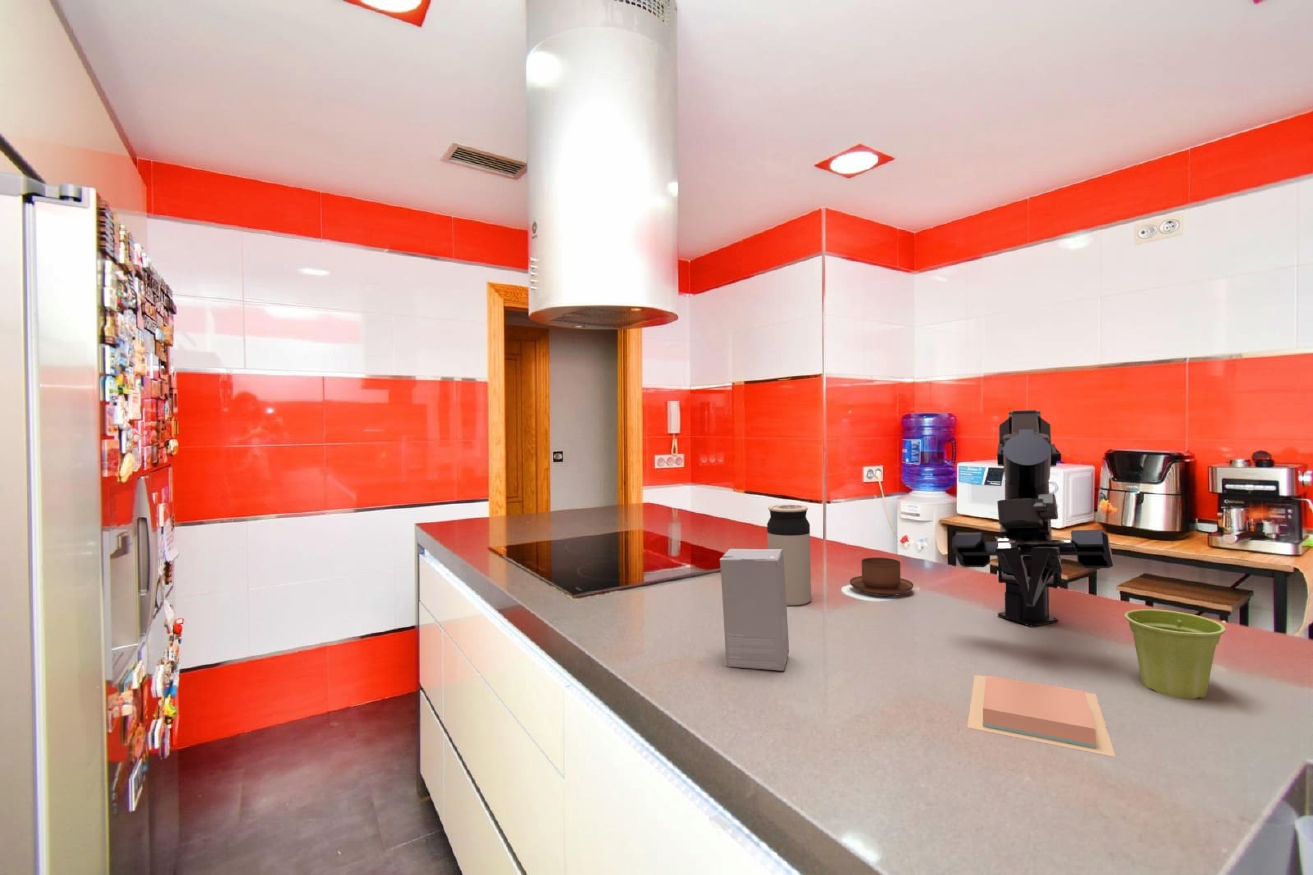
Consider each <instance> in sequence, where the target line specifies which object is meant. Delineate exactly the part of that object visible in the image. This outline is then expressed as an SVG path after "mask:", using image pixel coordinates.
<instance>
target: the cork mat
mask: <svg viewBox="0 0 1313 875" xmlns="http://www.w3.org/2000/svg"><path fill="white" fill-rule="evenodd" d="M985 681H986V675H979V674H974V677H973V685H972V690H971V698H970V705H969V713H968V719H967V720H968V721H967V727H966V728H967V729H972V730H977V731H982V732H987V733H991V734H997V735H1001V736H1006V737H1007V736H1008V737H1012V738H1016V739H1022V740H1027V741H1032V742H1036V743H1041V744H1042V743H1043V744H1047V745H1051V746H1055V747H1060V748H1065V749H1066V748H1067V749H1070V750H1071V749H1072V750H1077V751H1082V752H1085V753H1090V754H1091V753H1092V754H1097V755H1100V756H1101V755H1102V756H1107V757H1112V758H1116V754H1115V751H1114V748H1113V745H1112V744H1113V743H1112V742H1111V738H1110V735H1109V733H1108V729H1107V725H1106V722H1105V719H1104V715H1103V713H1102V710H1101V706H1100V704H1099V699H1098V698H1097V694H1096V693H1091V692H1090V693H1089V692H1085V693H1086V697H1087V700H1088V704H1089V708H1090V711H1091V715H1092V718H1093V722H1094V726H1095V735H1096V749H1095V748H1090V747H1085V746H1080V745H1075V744H1070V743H1065V742H1060V741H1054V740H1049V739H1044V738H1039V737H1034V736H1029V735H1024V734H1019V733H1014V732H1009V731H1004V730H999V729H994V728H989V727H984V726H983V702H984V691H985Z"/></svg>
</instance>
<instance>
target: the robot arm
mask: <svg viewBox="0 0 1313 875" xmlns="http://www.w3.org/2000/svg"><path fill="white" fill-rule="evenodd" d="M1051 427H1052V426H1051V424H1050V423H1049V422H1047V421H1046V420H1045V419H1043V418H1042V417H1041V411H1040V410H1036V409H1029V410H1028V409H1027V410H1025V409H1023V410H1022V409H1021V410H1012V411H1010V412H1008V418H1007V419H1006V420H1004V421H1003V422H1002V423H1000V424H999V425H998V444H997V452H996V457H997V459H996V460H997V466H998V467H1003V468H1002V469H1003V471H1002V472H1003V474H1004V475H1003V477H1004V499H1000V500H997V516H998V524H999V526H1000V528H999V529H1000V530H999V531H1000V534H1001V537H1002V538H997V539H996V541H987V540H986V539H985V536H984V534H983V532H957V533H956V534H955V535H954V536H953V537H952V540H951V550H952V551H953V553H954V555H955V557H956V559H957V562H958V563H959V565H960V566H962V567H965V568H986V566H988V565H989V564H990V563H991V557H996V558H997V571H998V572H997V573H998V575H997V576H998V584H1003V583H1004V584H1005V592H1004V611H1002V612H998V613H997V616H998V617H1001V618H1002V619H1006V620H1009V621H1012V622H1016V623H1020V624H1023V625H1026V626H1028V627H1037V626H1042V625H1047V624H1052V623H1057V622H1059V618H1058V617H1054V616H1051V615H1050V590H1049V588H1053V589H1058V588H1059V587H1062V572H1063V566H1062V564H1063V560H1062V556H1076V558H1077V563H1078V564H1079V565H1080V566H1082V567H1083V568H1085V569H1110V568H1112V567H1114V560H1113V554H1112V548H1111V543H1110V538H1109V534H1108V533H1107V532H1106V531H1104V530H1103V529H1071V531H1070V534H1071V535H1070V536H1071V540H1070V539H1068V540H1066V539H1065V540H1064V539H1063V540H1062V539H1061V540H1059V539H1058V540H1054V539H1053V540H1052V538H1053V536H1052V520H1058V519H1059V513H1058V505H1057V497H1056V495H1055V493H1050V482H1049V480H1050V479H1051V478H1050V477H1051V468H1055V467H1057V463H1058V462H1062V453H1061V451H1059V449H1058V448H1057V446H1056V444H1055V443H1052V434H1051V433H1052V432H1051V430H1052V429H1051Z"/></svg>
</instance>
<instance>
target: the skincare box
mask: <svg viewBox="0 0 1313 875" xmlns="http://www.w3.org/2000/svg"><path fill="white" fill-rule="evenodd" d="M719 564H720V581H721V593H722V596H721V597H722V608H723V609H722V612H723V628H724V629H723V630H724V631H723V632H724V648H725V659H726V663H725V664H726V667H729V668H740V669H741V668H742V669H743V668H744V669H753V670H754V669H758V670H771V671H784V670H785V667H786V664H787V660H788V657H789V653H790V644H789V641H790V640H789V627H788V626H789V625H788V609H787V606H786V590H785V573H784V557H783V549H768V548H765V549H763V548H762V549H761V548H752V549H751V548H729V549H728V550H727V551H726V552H725V553H724V554H723V555H722V557H720V558H719Z"/></svg>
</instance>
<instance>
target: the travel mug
mask: <svg viewBox="0 0 1313 875" xmlns="http://www.w3.org/2000/svg"><path fill="white" fill-rule="evenodd" d="M767 509H768V510H769V514H770V515H769V516H770V517H769V519H768V522H767V523H766V529H767V530H766V531H767V534H766V536H767V549H783V557H784V573H785V590H786V606H789V607H790V606H791V607H795V606H803V605H806V604H808V603H810V602H811V601H812V576H811V573H812V570H811V528H810V527H811V525H810V522H809V520H808V518H807V512H808V510H809V507H808V506H806V505H801V504H776V505H775V504H774V505H768V507H767Z"/></svg>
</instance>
